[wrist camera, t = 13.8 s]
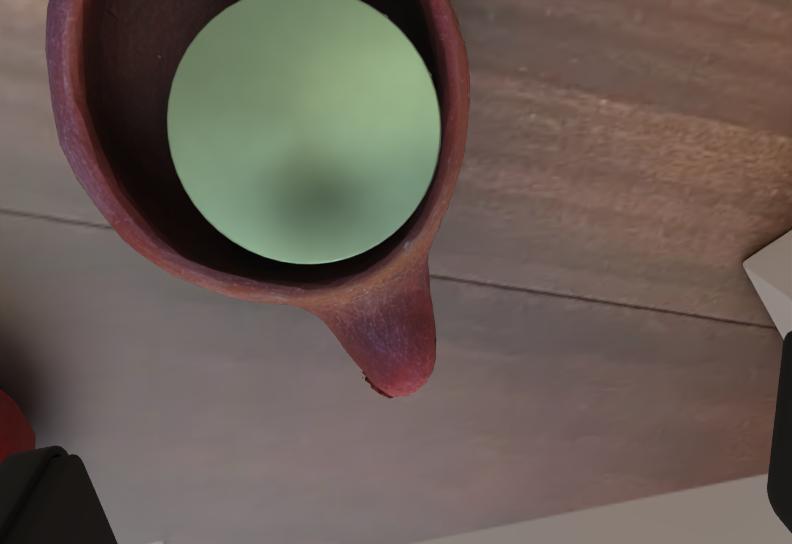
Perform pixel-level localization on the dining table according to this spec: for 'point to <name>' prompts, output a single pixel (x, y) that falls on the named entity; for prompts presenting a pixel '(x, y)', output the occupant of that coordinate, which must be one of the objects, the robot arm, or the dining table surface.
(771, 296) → the milk carton
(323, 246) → the jar lid
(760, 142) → the dining table surface
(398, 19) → the bowl
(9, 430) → the apple
